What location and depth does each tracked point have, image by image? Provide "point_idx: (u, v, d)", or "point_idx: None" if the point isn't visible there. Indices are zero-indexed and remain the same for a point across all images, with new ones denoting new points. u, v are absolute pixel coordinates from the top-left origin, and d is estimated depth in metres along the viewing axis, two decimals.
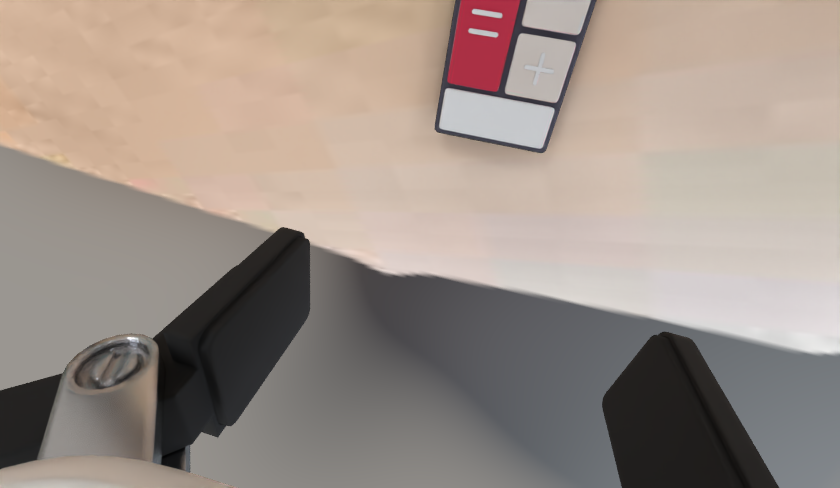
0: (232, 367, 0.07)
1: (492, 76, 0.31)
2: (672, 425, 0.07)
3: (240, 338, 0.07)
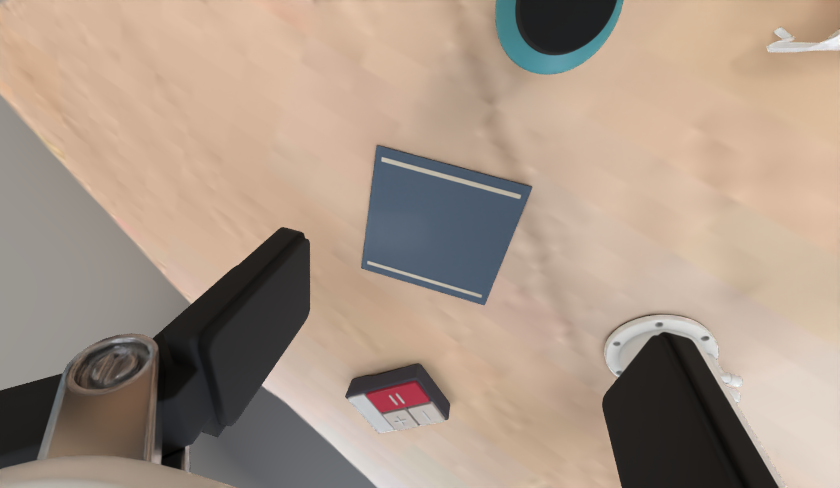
0: (232, 367, 0.07)
1: (383, 408, 0.60)
2: (672, 425, 0.07)
3: (240, 338, 0.07)
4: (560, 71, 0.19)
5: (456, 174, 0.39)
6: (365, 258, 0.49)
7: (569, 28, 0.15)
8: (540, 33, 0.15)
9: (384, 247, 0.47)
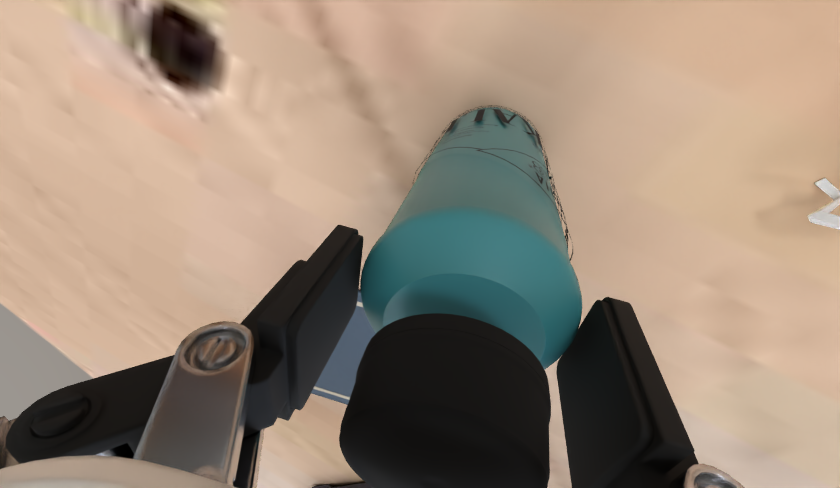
0: (306, 354, 0.08)
1: None
2: (604, 376, 0.08)
3: (314, 327, 0.08)
4: None
5: None
6: None
7: None
8: None
9: (329, 374, 0.39)
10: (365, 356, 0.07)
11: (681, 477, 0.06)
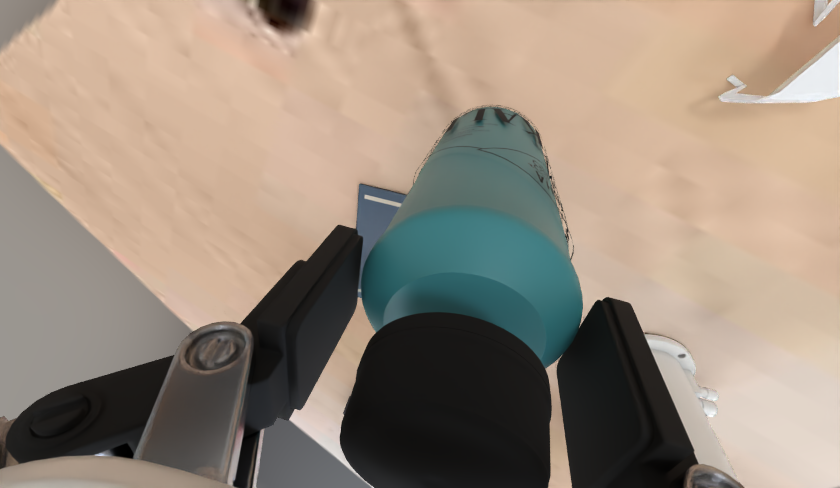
0: (306, 354, 0.08)
1: None
2: (604, 376, 0.08)
3: (314, 327, 0.08)
4: None
5: None
6: None
7: None
8: None
9: None
10: (366, 355, 0.07)
11: (681, 477, 0.06)
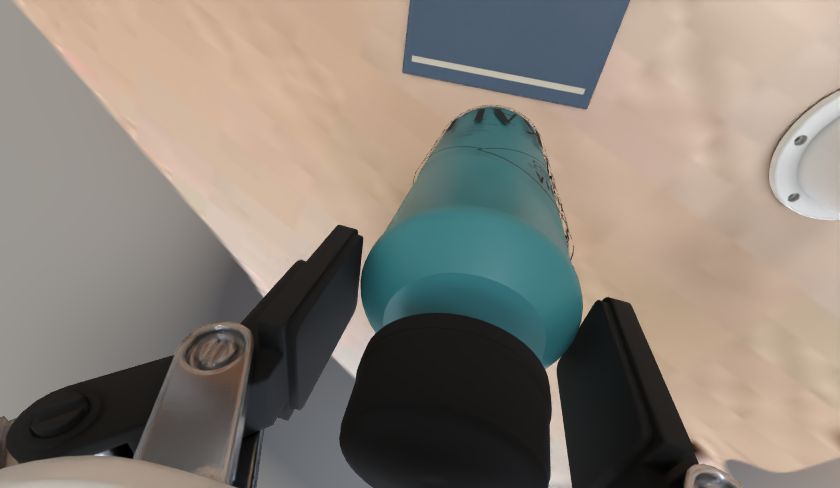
0: (306, 354, 0.08)
1: None
2: (604, 376, 0.08)
3: (314, 327, 0.08)
4: None
5: None
6: (409, 51, 0.33)
7: None
8: None
9: (439, 22, 0.32)
10: (365, 356, 0.07)
11: (681, 477, 0.06)
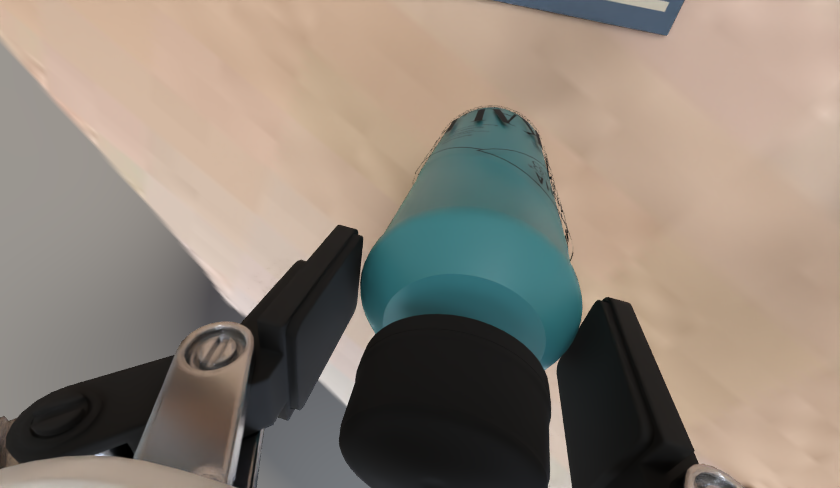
0: (306, 354, 0.08)
1: None
2: (604, 376, 0.08)
3: (314, 327, 0.08)
4: None
5: None
6: None
7: None
8: None
9: None
10: (365, 357, 0.07)
11: (681, 477, 0.06)
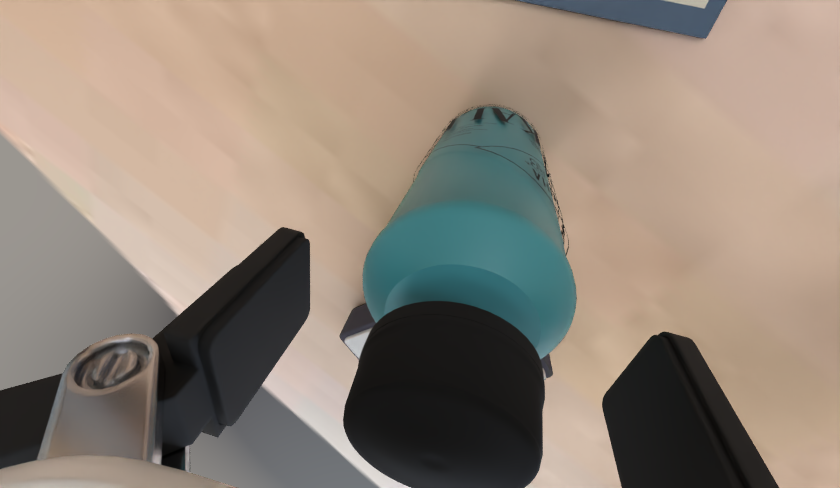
0: (232, 367, 0.07)
1: None
2: (672, 425, 0.07)
3: (240, 338, 0.07)
4: None
5: None
6: None
7: (448, 486, 0.07)
8: (394, 474, 0.07)
9: None
10: (367, 342, 0.07)
11: None
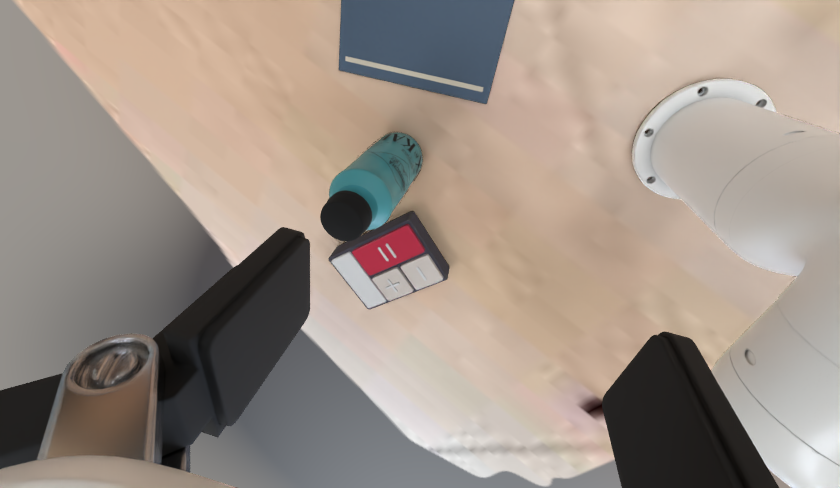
0: (232, 367, 0.07)
1: (372, 269, 0.52)
2: (672, 425, 0.07)
3: (240, 338, 0.07)
4: (370, 229, 0.34)
5: None
6: (342, 52, 0.41)
7: (345, 233, 0.29)
8: (333, 233, 0.30)
9: (365, 30, 0.39)
10: (327, 201, 0.30)
11: None
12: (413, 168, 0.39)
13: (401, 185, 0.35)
